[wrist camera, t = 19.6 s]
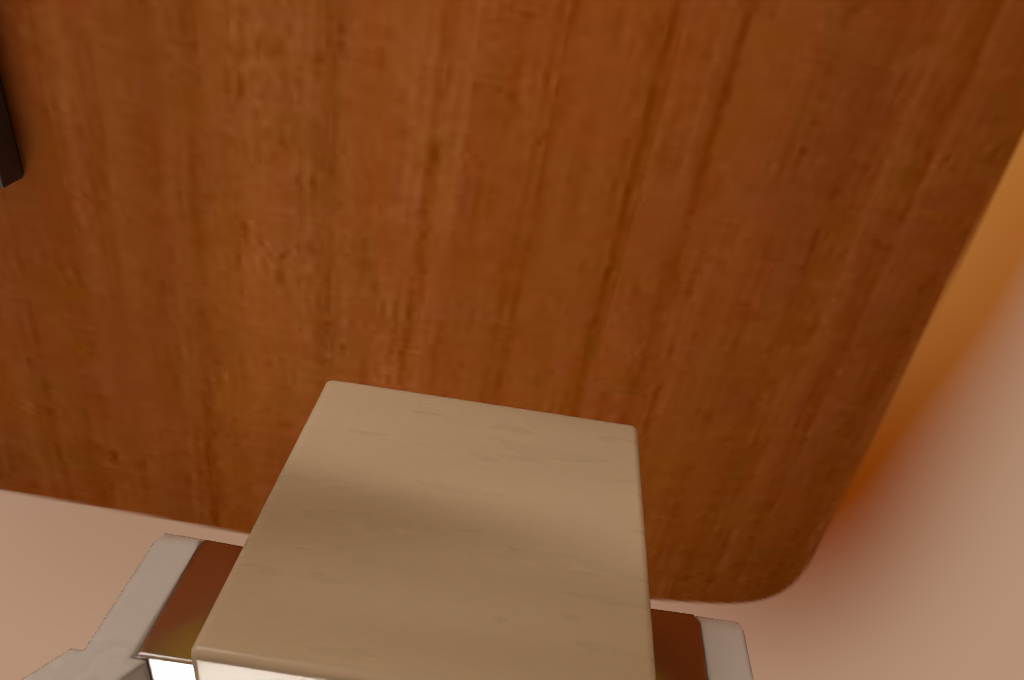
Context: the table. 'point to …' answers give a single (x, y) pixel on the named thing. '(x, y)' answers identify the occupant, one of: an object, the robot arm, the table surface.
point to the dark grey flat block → (7, 148)
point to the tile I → (440, 550)
